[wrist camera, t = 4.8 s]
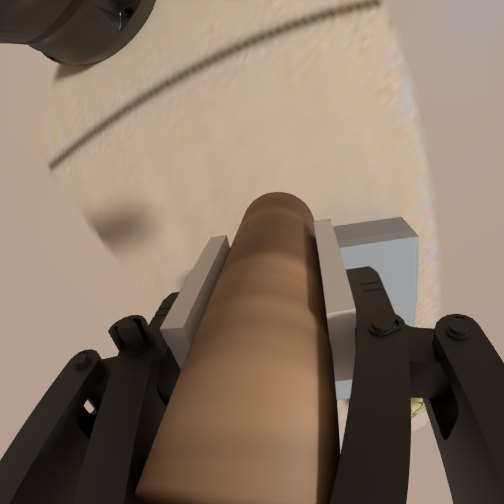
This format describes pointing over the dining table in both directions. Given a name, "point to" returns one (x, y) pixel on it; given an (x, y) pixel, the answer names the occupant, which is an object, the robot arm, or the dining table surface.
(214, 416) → the long dowel
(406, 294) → the bridge
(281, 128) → the dining table surface
